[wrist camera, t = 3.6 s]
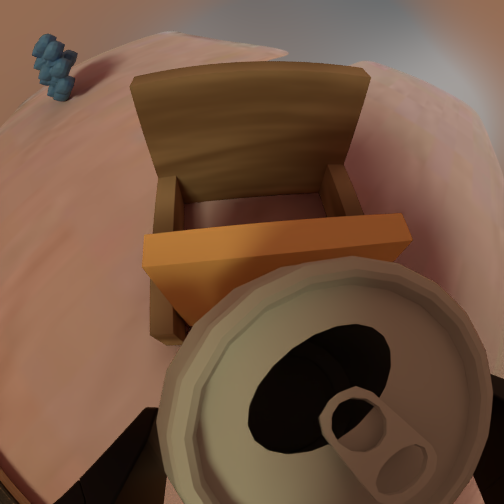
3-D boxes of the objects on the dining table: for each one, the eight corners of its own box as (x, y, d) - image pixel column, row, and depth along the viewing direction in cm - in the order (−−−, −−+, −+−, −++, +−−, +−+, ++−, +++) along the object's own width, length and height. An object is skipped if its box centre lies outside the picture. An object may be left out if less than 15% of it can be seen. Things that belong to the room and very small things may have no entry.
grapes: (105, 89, 30) (84, 16, 19) (65, 117, 27) (35, 43, 17) (74, 80, 33) (55, 23, 22) (41, 104, 30) (17, 46, 20)
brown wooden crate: (371, 320, 16) (474, 237, 7) (166, 345, 15) (72, 278, 6) (329, 180, 21) (362, 68, 12) (169, 193, 21) (134, 76, 12)
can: (295, 315, 16) (372, 166, 6) (370, 409, 14) (544, 397, 3) (188, 387, 14) (51, 363, 4) (266, 487, 11) (301, 631, 1)
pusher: (348, 307, 16) (413, 240, 9) (189, 326, 16) (142, 267, 9) (343, 289, 17) (401, 213, 10) (188, 306, 16) (144, 235, 9)
